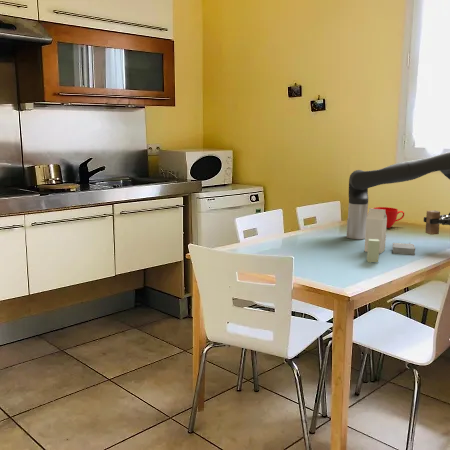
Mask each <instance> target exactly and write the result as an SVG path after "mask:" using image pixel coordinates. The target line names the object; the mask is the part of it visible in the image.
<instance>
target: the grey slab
mask: <svg viewBox="0 0 450 450" xmlns="http://www.w3.org/2000/svg"><path fill="white" fill-rule="evenodd" d="M392 254H402V255H413V256H414V255H415V254H416V248H415V244H414V243H400V242H392Z"/></svg>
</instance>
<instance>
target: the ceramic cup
mask: <svg viewBox="0 0 450 450" xmlns="http://www.w3.org/2000/svg"><path fill="white" fill-rule="evenodd" d="M372 209H383V210H385V213H386V216H387V226H386V229H390V228H392V227H393V226H394V224H395V223H396V222H398V221H402V219H403V218H404V217H405V212H404V211H402V210H400V211H399V210H398V208H394V207H387V206H385V207H384V206H379V207H373V208H372ZM400 213H402V216H401V217H399V218H398V215H399V214H400ZM397 218H398V219H397Z"/></svg>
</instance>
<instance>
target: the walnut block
mask: <svg viewBox="0 0 450 450" xmlns="http://www.w3.org/2000/svg"><path fill="white" fill-rule="evenodd" d="M440 215H441V212H440V211H439V210H426V216H425V217H426V222H425V231H424V232H425V233H424V234H426V235H427V234H428V235H430V236H431V235H432V236H433V235H434V236H435V235H439V233H440V224H430V223H429V222H430V219H438V218H440Z"/></svg>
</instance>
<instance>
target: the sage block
mask: <svg viewBox="0 0 450 450" xmlns="http://www.w3.org/2000/svg"><path fill="white" fill-rule="evenodd" d="M379 242H380V241H379V240H378V239H368V250H367V252H366V262H367V263H371V262H378V263H379V258H380V257H379V254H380V253H379Z"/></svg>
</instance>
